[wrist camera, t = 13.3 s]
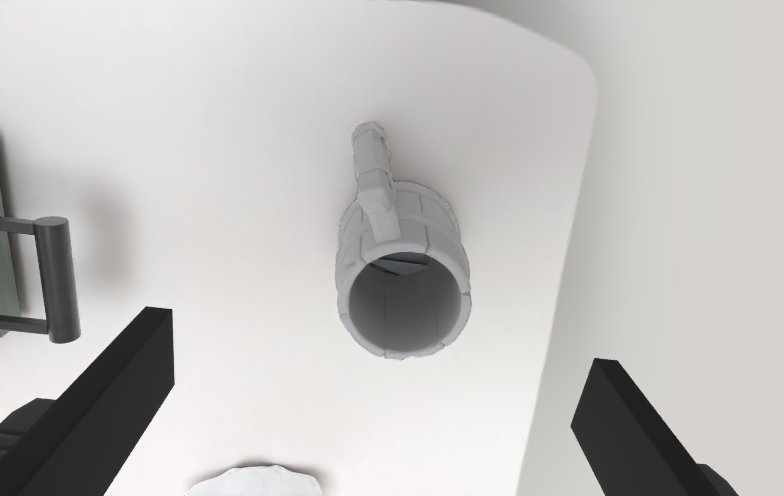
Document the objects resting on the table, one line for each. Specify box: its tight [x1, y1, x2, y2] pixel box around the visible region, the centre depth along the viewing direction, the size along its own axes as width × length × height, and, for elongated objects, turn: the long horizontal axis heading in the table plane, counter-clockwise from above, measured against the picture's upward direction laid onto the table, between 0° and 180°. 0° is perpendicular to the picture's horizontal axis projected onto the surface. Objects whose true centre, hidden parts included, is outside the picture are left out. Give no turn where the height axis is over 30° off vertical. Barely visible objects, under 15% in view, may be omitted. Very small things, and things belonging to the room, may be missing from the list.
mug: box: [335, 122, 472, 360], centre depth 25 cm, size 8×12×12 cm, turn 14°
